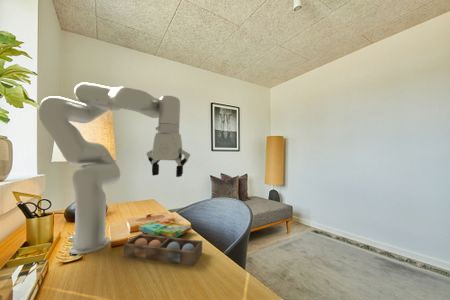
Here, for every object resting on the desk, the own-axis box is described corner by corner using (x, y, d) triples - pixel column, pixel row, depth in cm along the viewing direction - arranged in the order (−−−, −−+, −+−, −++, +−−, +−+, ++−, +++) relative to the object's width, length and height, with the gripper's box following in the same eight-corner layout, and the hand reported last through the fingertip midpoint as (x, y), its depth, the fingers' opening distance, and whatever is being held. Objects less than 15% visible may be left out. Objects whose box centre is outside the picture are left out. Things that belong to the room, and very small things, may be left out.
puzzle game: (161, 216, 90) (191, 224, 80) (161, 226, 90) (191, 235, 80) (139, 224, 80) (171, 234, 70) (139, 235, 80) (171, 247, 70)
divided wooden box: (123, 258, 61) (123, 244, 62) (139, 246, 70) (139, 234, 70) (193, 268, 56) (193, 253, 56) (202, 254, 64) (202, 240, 64)
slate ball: (163, 258, 60) (163, 244, 61) (170, 251, 65) (170, 238, 65) (176, 260, 59) (176, 246, 60) (182, 253, 64) (182, 240, 64)
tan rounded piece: (130, 254, 63) (130, 241, 63) (139, 247, 68) (139, 235, 68) (142, 255, 62) (142, 242, 62) (150, 249, 67) (150, 236, 67)
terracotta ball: (144, 256, 62) (144, 242, 62) (152, 249, 66) (152, 236, 66) (156, 258, 61) (156, 244, 61) (163, 251, 65) (164, 238, 66)
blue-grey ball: (178, 261, 59) (179, 246, 59) (184, 253, 64) (184, 240, 64) (192, 262, 58) (192, 248, 58) (197, 255, 63) (197, 241, 63)
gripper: (141, 128, 66) (140, 175, 65) (186, 128, 62) (184, 178, 62) (154, 131, 73) (152, 173, 73) (194, 131, 69) (192, 176, 69)
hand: (167, 175), depth 67 cm, fingers open, 9 cm apart
